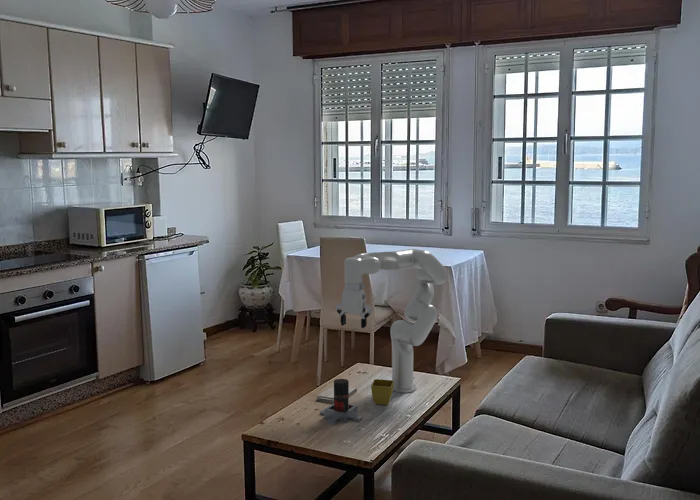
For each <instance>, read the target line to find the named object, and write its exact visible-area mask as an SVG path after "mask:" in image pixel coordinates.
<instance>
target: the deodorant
mask: <svg viewBox="0 0 700 500" xmlns="http://www.w3.org/2000/svg"><path fill="white" fill-rule="evenodd" d="M349 383H350V382H349V380H348V379H346V378H336V379H334V380H333V386H334V410H337V411H342V412H346V411H347V410H349V404H350V403H349Z"/></svg>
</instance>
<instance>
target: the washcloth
mask: <svg viewBox="0 0 700 500" xmlns="http://www.w3.org/2000/svg"><path fill="white" fill-rule="evenodd" d="M357 392H358V388H357V387H351V386H350V387H349V398H351V397H352V396H354V395H355V394H356V393H357ZM316 398H317V399H316V401H319V402H323V403H329V404H333V403H334V385H333V386H331V387H329V388H327V389H325V391H323V392H321V393H319V394H318V395H317V396H316Z"/></svg>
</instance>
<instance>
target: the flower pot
mask: <svg viewBox="0 0 700 500" xmlns="http://www.w3.org/2000/svg"><path fill="white" fill-rule="evenodd" d="M393 385H394V380H392V379H380V378H379V379H377V378H375V379H373V382H372V383H371V386H370V389H371V397H372V400H373V402H374V404H375V405H381V406H388V405H389V403H390V401H391V398H392V396H393V392H394V391H393Z"/></svg>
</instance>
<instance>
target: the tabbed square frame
mask: <svg viewBox="0 0 700 500" xmlns="http://www.w3.org/2000/svg"><path fill="white" fill-rule="evenodd" d="M358 411H359V405H357V404H351V403H349V410H347V411H346V412H342V411H337V410H334V403H331V404H330V405H329V406H327V407H326V408H323V409H322V410H320V415H323V416H324V417H323V419H325V420H326V424H328V425H332V426H334V425H335V424H338V422H339V423H344V424H347V423H349V422H350V421H352V422H358V423H360V422H361V421H363V416H361V415H359V412H358Z"/></svg>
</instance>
